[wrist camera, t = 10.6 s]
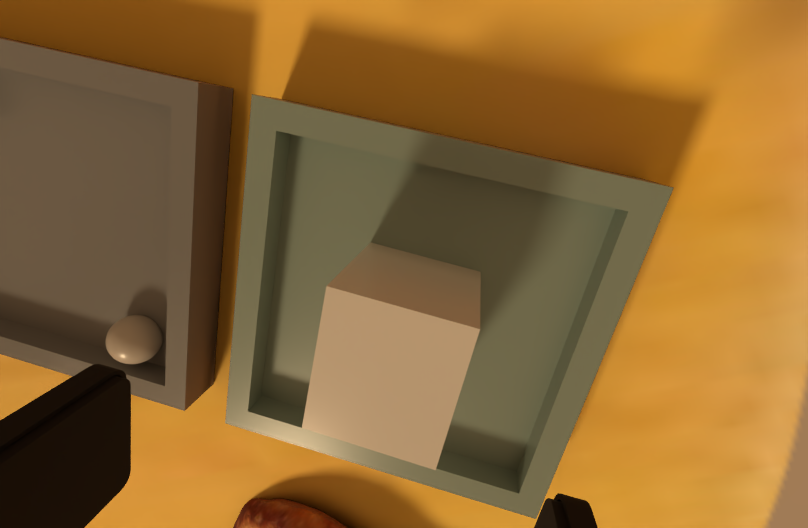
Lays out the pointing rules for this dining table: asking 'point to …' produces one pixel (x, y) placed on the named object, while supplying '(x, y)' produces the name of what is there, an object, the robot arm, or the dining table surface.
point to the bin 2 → (448, 242)
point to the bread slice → (282, 515)
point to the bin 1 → (111, 219)
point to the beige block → (393, 353)
